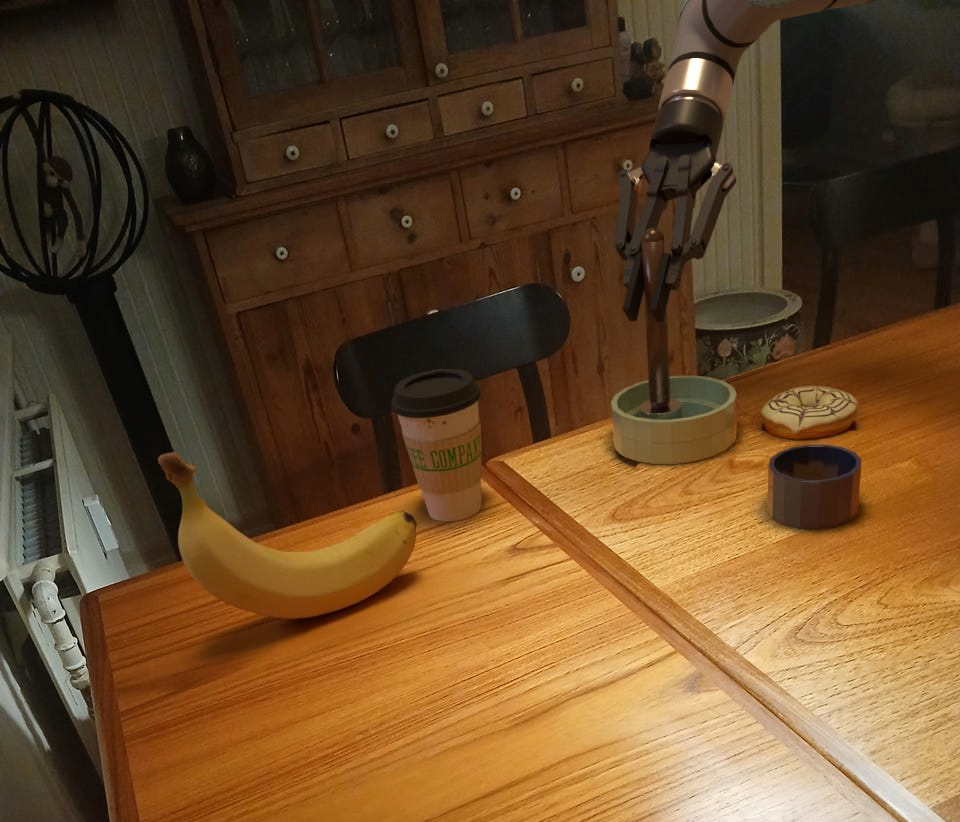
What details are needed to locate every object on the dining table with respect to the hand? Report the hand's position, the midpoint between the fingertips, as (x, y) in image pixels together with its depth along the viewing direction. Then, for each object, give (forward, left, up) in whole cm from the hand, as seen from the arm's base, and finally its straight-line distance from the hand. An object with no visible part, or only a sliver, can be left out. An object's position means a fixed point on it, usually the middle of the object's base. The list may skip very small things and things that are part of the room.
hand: (642, 315), depth 107 cm
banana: (+26, +36, -17) cm, 47 cm away
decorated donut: (-17, -9, -17) cm, 26 cm away
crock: (-19, +13, -17) cm, 29 cm away
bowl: (-2, -4, -17) cm, 18 cm away
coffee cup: (+20, +14, -17) cm, 30 cm away
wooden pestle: (-1, -4, -14) cm, 15 cm away
